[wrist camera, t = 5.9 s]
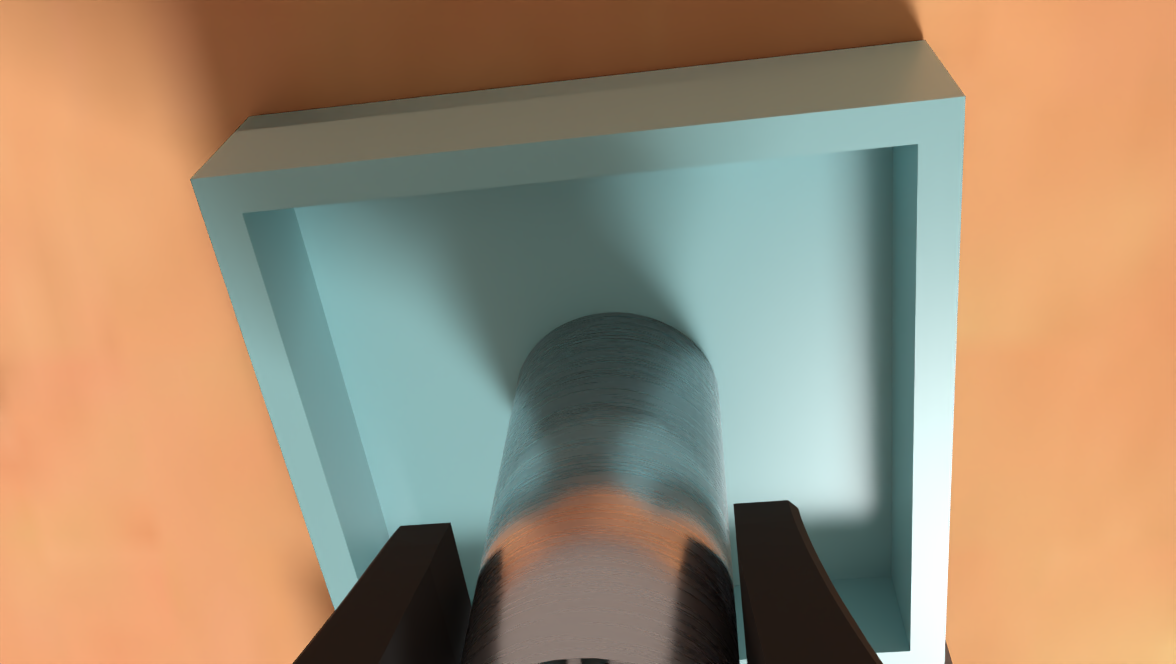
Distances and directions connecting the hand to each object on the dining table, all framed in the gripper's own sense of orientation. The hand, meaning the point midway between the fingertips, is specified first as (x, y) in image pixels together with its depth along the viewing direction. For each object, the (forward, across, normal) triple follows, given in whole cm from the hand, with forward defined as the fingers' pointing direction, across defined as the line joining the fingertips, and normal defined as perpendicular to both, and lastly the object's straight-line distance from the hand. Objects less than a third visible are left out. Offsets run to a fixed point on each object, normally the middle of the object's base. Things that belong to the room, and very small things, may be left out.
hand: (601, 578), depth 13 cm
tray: (+5, 0, 0) cm, 5 cm away
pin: (+4, 0, 0) cm, 4 cm away
